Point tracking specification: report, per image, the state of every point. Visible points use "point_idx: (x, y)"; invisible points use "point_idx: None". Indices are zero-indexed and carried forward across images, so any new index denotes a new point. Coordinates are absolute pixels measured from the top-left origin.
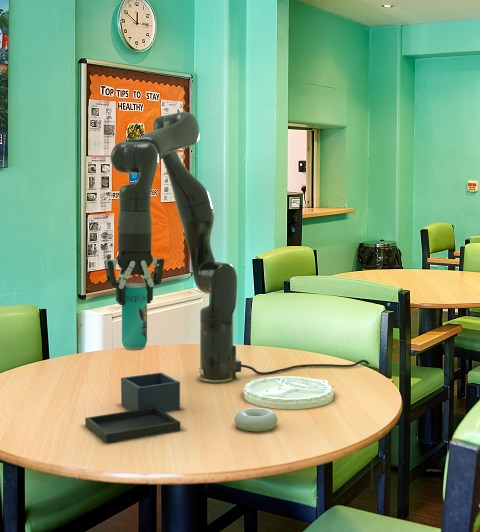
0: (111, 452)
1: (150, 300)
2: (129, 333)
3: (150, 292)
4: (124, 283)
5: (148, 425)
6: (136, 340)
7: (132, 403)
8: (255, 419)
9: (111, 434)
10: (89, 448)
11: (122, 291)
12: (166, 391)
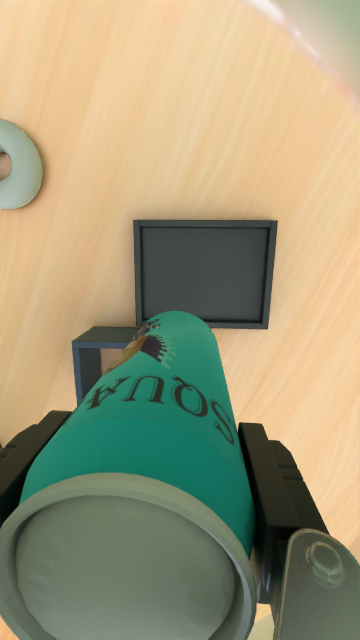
0: (285, 172)
1: (46, 417)
2: (208, 334)
3: (5, 460)
4: (292, 606)
5: (177, 264)
6: (185, 314)
7: None
8: (7, 126)
9: (267, 220)
10: (307, 213)
11: (284, 502)
12: (106, 337)
